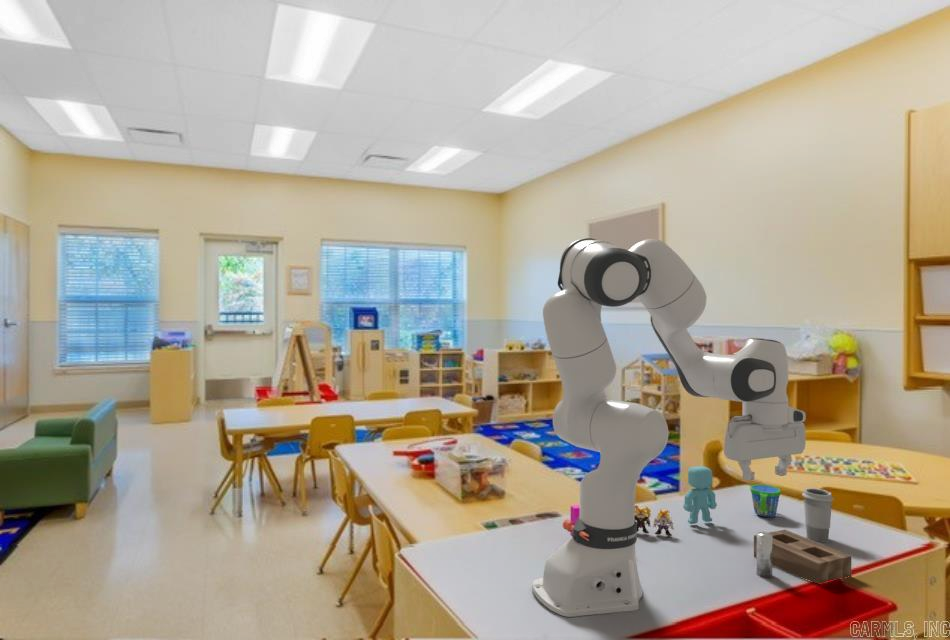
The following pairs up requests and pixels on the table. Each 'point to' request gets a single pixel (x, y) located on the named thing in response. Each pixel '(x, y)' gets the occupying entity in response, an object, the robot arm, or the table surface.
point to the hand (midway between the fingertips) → (764, 477)
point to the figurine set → (661, 519)
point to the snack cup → (765, 499)
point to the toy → (699, 494)
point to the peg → (764, 554)
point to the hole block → (807, 557)
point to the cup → (817, 513)
